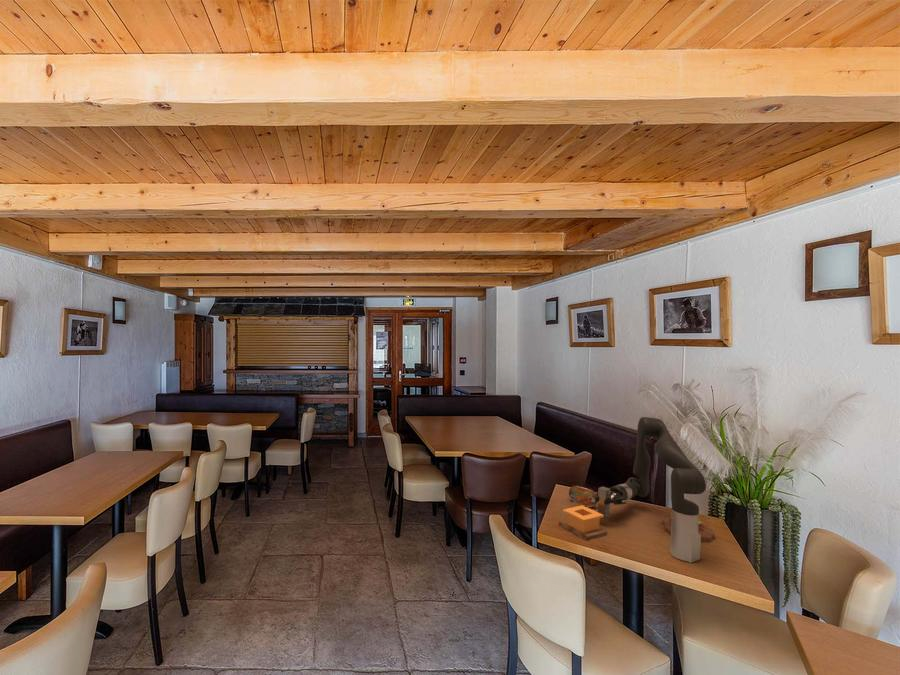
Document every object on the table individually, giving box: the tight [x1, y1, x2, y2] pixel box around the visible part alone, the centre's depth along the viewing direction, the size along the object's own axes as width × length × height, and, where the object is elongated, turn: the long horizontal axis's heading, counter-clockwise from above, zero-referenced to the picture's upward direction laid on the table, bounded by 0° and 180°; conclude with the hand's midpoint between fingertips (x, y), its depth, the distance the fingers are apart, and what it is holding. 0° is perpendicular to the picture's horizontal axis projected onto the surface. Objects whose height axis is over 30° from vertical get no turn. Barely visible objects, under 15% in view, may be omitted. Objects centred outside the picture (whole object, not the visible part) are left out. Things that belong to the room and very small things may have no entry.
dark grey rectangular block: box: [597, 486, 611, 518], centre depth 192 cm, size 4×4×12 cm
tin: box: [568, 485, 598, 509], centre depth 215 cm, size 15×3×8 cm, turn 40°
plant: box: [661, 517, 716, 543], centre depth 187 cm, size 20×20×11 cm
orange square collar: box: [562, 505, 605, 533], centre depth 185 cm, size 12×12×6 cm
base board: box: [558, 519, 608, 541], centre depth 185 cm, size 16×12×2 cm
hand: (600, 500), depth 190 cm, fingers closed on dark grey rectangular block, 3 cm apart
